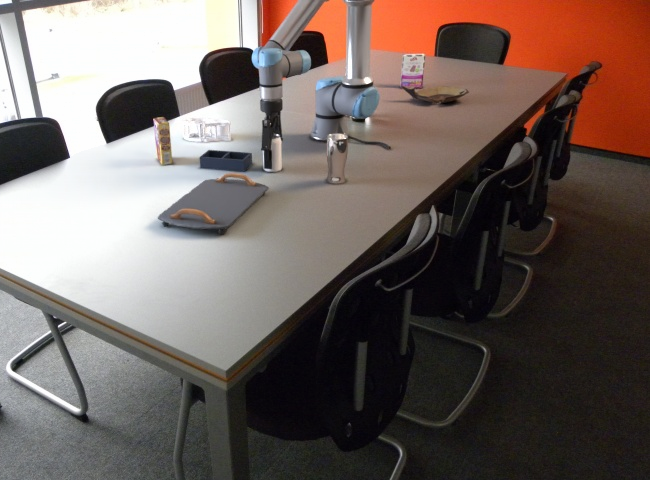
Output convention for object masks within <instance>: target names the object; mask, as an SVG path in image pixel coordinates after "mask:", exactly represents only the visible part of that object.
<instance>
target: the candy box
mask: <svg viewBox="0 0 650 480" xmlns="http://www.w3.org/2000/svg"><path fill="white" fill-rule="evenodd" d="M170 128H171V127H170V122H169V120H167V119H166V118H165V117H164V116H161V117H154V118H153V129H154V140H155V149H156V159H157V160H158V161H159V163H160V164H161V165H162V166H166V165H173V153H172V152H173V151H172V141H171V140H172V139H171V129H170Z"/></svg>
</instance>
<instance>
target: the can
mask: <svg viewBox="0 0 650 480" xmlns="http://www.w3.org/2000/svg"><path fill="white" fill-rule="evenodd" d="M271 150H272V169H264V151H263V150H262V164H263V165H262V166H263V167H262V168H263V170H264V172H267V173H278V172H280V171H281V170H282V168H283V167H282V165H283V163H282V161H283V160H282V141H281V138H280V135H279V134H273V135H272V144H271Z"/></svg>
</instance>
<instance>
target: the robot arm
mask: <svg viewBox="0 0 650 480" xmlns="http://www.w3.org/2000/svg"><path fill="white" fill-rule="evenodd" d="M375 1H376V0H342V2H344V4H345V5H346V41H345V42H346V45H345V47H346V49H345V52H346V53H345V54H346V55H345V57H346V58H345V76H330V77H329V76H328V77H323V78H320V79H318V80H317V81H316V86H315V118H314V121H313V124H312V126H311V130H310V139H311V140H313V141H316V142H321V143H327V136H328V135H330V134H345V135H347V136H348V139H350V140H352V141H355V142H358V143H361V144H366V145H381V146H383V147H385V148H386V149H388V150H391V148H392V147H391V146H390V145H388V144H387V143H385V142H381V141H375V140H373V141H372V140H371V141H366V140H362V139H359V138H357V137H354V136H351V135H349V134H350V133H349V128H348V125H347V122H346V116H348V117H352V118H354V119H363V120H365V119H368V118H370V117H372V115H373V114H374V113H375V112H376V110H377V108H378V106H379V103H380V99H381V98H380V97H381V96H380V92H379V90H378V89H377V87H374V81H375V80H374V78H373V77H372V76H371V75H370V73H371V45H372V44H371V42H372V41H371V40H372V16H373V15H372V14H373V13H372V11H373V10H372V8H373V3H374V2H375ZM325 2H326V3H327V2H330V0H297V2H296V3H295V4H294V6H293V7H292V8H291V10H290V11H289V12H288V14H287V15H286V16H285V18H284V20H282V22H281V24H280V25H279V26H278V28H277V29H276V30H275V31H274V33H273V34H272V36H271V37H270V38H269V39H268V41H267V42H266V43H265V45H263V46H258V47H256V48H254V50H253V52H252V54H251V62H252V64H253V67H255V68H256V69H258V71H259V72H258V74H259V75H258V77H259V88H258V91H259V98H260V100H259V110H260V111H261V112H262V113H265V116H264V119H262V121H261V127H262V129H261V145H260V146H261V148H260V151H262V152H263V151H264V169H272V150H271V144H272V135H273V134H279V135H280V138H281V142H283V140H284V138H283V129H282V128H283V127H282V117H281V114H282V111H283V109H284V106H283V97H284V96H283V79H286V78H289V77H295V76H301V75H304V74H307V73H308V72H309V71H310V69H311V66H312V59H311V56H310V54H309V52H307V50H304V49H300V50H299V49H298V50H297V49H296V50H294V51H293V50H291V48H292V47H293V46H294V44H295V43H296V41H297V40H298V39H299V37H300V36H301V35H302V33H303V32H304V30H305V29H306V28H307V27H308V25H309V24H310V23H311V21H312V20H313V18H314V17H315V16H316V14H317V13H318V12H319V11H320V9H321V7H322V6H323V5H324V4H325ZM264 169H263V170H264Z"/></svg>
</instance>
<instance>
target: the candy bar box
mask: <svg viewBox="0 0 650 480" xmlns="http://www.w3.org/2000/svg"><path fill="white" fill-rule="evenodd" d="M401 62H402V63H401V76H400V89H403V88H402V87H401V86H402V85H404V86H422V87H415V89H423V85H424V72H425V62H426V54H425V53H402V60H401ZM409 88H411V87H409Z"/></svg>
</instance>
